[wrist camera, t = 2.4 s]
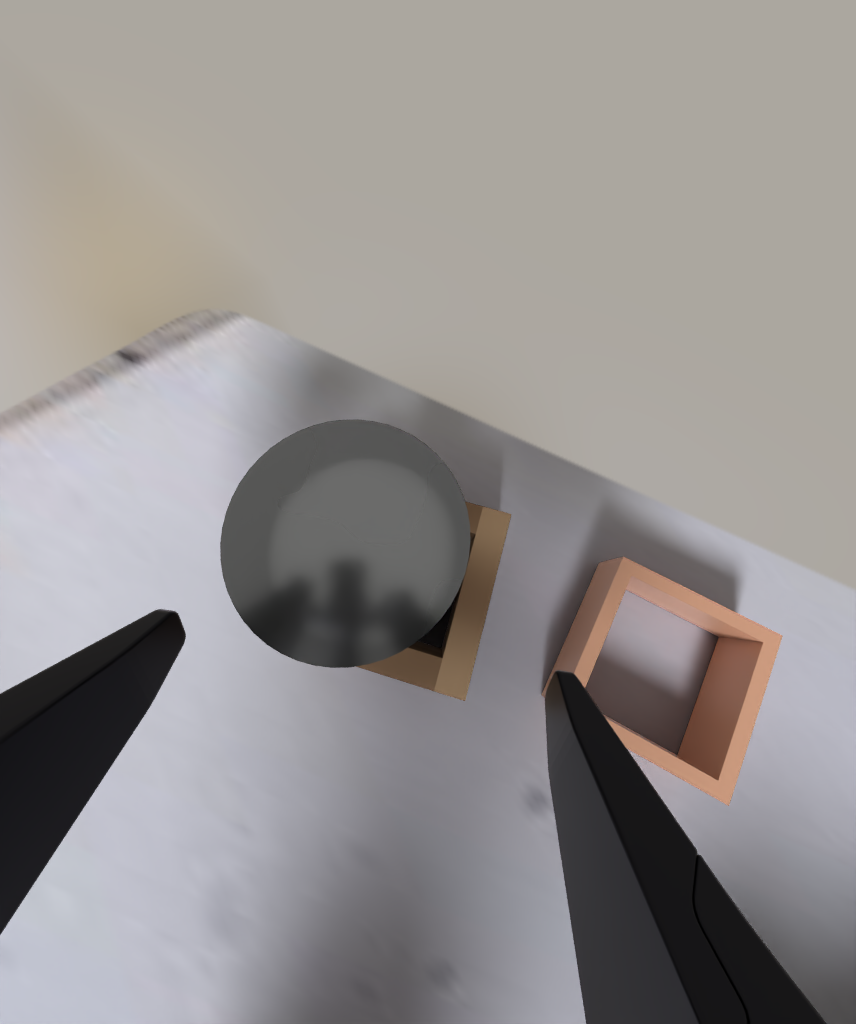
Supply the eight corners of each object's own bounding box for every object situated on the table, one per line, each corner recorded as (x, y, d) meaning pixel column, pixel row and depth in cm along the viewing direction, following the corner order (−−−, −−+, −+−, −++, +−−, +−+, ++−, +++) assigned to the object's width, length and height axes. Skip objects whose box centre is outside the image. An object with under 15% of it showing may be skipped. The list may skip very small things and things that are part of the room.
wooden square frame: (459, 682, 18) (464, 701, 14) (308, 635, 18) (279, 642, 15) (497, 530, 19) (511, 514, 16) (358, 491, 20) (342, 468, 16)
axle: (461, 599, 19) (516, 591, 6) (386, 639, 18) (274, 719, 6) (424, 527, 19) (402, 383, 7) (352, 563, 19) (187, 482, 6)
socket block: (686, 776, 17) (728, 805, 14) (541, 695, 17) (558, 709, 15) (735, 631, 18) (782, 635, 16) (599, 562, 19) (623, 556, 16)
